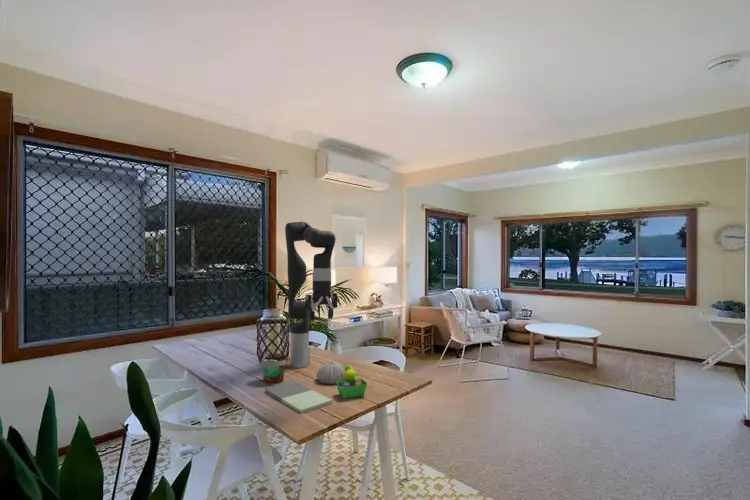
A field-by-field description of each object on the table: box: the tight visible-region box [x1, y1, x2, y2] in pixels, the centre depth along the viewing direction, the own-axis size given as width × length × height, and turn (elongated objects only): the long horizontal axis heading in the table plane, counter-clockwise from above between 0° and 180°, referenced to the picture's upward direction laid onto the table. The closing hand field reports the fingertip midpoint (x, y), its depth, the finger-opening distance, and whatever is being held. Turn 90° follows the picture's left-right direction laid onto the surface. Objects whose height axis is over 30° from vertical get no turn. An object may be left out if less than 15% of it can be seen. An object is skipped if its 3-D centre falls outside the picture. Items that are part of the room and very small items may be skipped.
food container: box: [260, 356, 287, 385], centre depth 163 cm, size 12×6×10 cm, turn 68°
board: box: [264, 380, 333, 414], centre depth 146 cm, size 14×28×1 cm, turn 43°
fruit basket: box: [335, 364, 368, 399], centre depth 150 cm, size 11×9×11 cm
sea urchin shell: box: [316, 361, 345, 384], centre depth 166 cm, size 13×14×8 cm
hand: (321, 319), depth 147 cm, fingers open, 8 cm apart
